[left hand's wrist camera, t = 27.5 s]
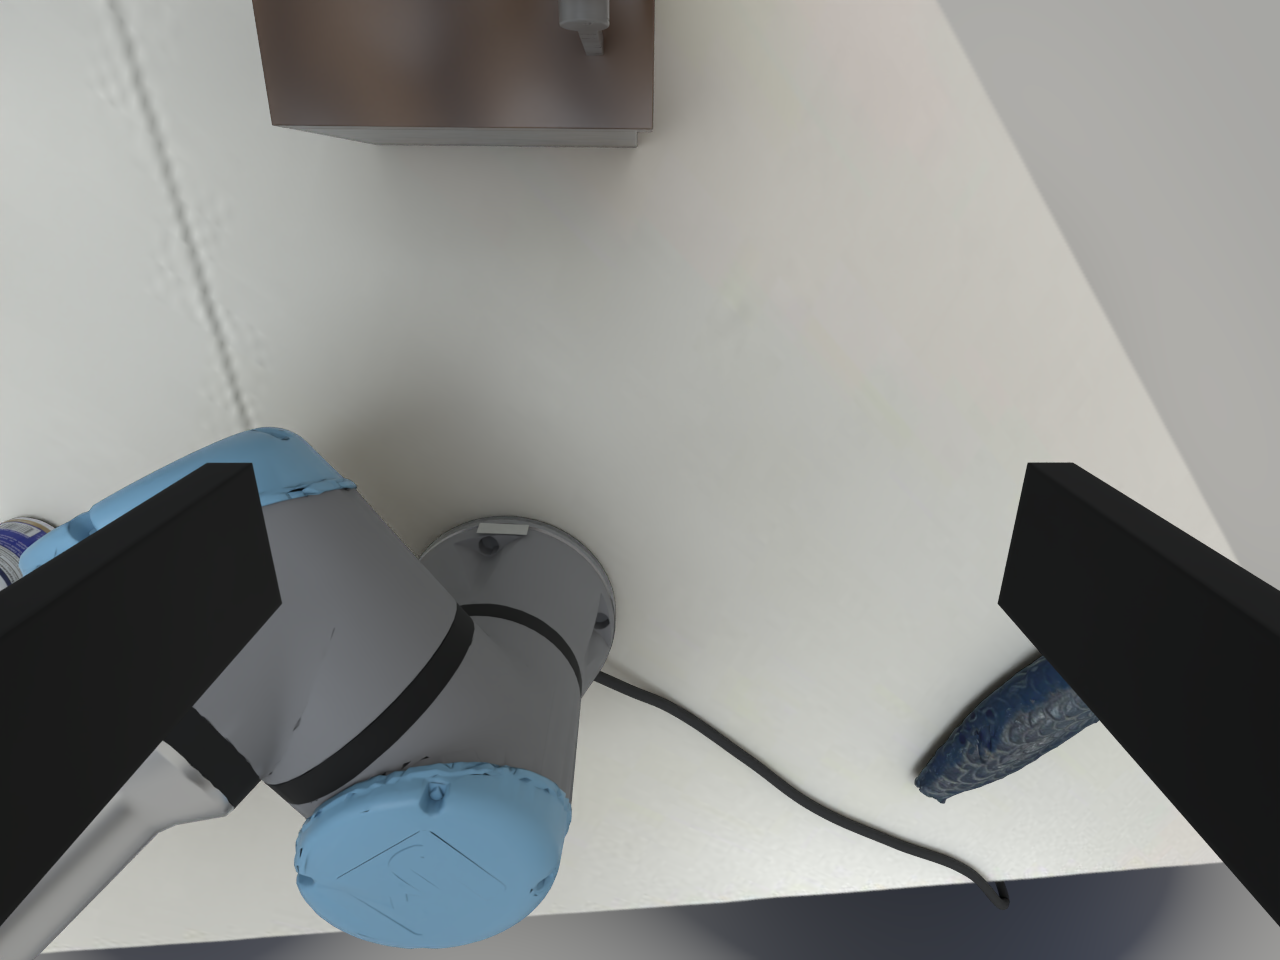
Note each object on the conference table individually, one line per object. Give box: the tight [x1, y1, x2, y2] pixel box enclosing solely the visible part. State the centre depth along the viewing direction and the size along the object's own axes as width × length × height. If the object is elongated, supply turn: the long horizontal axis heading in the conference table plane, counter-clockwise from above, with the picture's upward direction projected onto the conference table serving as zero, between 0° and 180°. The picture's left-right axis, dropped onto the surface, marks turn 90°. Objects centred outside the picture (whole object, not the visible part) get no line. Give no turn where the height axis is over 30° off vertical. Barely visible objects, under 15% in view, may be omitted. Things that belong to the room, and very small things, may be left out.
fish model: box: [915, 656, 1099, 804], centre depth 53 cm, size 7×21×5 cm, turn 143°
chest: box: [290, 128, 637, 147], centre depth 34 cm, size 15×12×11 cm
